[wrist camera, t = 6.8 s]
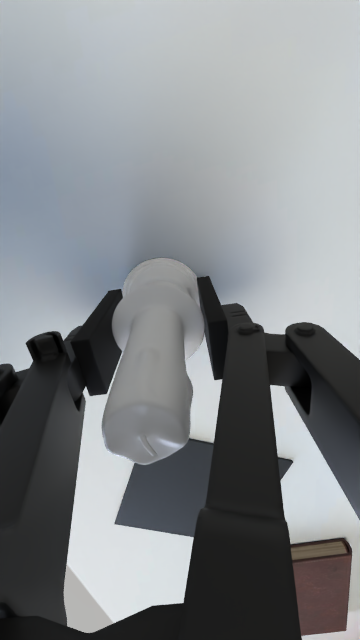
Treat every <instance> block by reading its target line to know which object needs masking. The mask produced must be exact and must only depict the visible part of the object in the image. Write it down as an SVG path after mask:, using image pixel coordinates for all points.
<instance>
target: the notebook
mask: <svg viewBox="0 0 360 640" xmlns="http://www.w3.org/2000/svg"><path fill="white" fill-rule="evenodd" d="M291 554H292V562H293V570H294V579H295V587H296V596H297V604H298V613H299V621H300V630H301V636H303V635H312V634H321V633H330V632H340V631H346V626H347V613H348V600H349V587H350V574H351V561H352V549H351V546H350V544H349V543H348V542H347V541H346V540H345V539H344V538H340V539H332V540H325V541H317V542H310V543H302V544H295V545H291Z"/></svg>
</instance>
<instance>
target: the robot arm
mask: <svg viewBox="0 0 360 640" xmlns="http://www.w3.org/2000/svg"><path fill="white" fill-rule="evenodd" d="M197 286H198V293H199V301H200V309H201V312H202V314H203V317H204V323H205V337H206V342H207V347H208V352H209V356H210V361H211V366H212V371H213V376H214V380H220V379H223V380H222V387H221V395H220V402H219V409H218V417H217V424H216V431H215V439H214V446H213V454H212V461H211V468H210V476H209V483H208V491H207V498H206V503H205V506H204V508H202V509H200V512H199V515H198V518H197V523H196V528H195V534H194V540H193V546H192V553H191V559H190V566H189V572H188V578H187V585H186V591H185V598H184V603H181V604H169V605H157V606H151V607H149V608H147V609H145V610H142V611H140V612H138V613H136V614H134V615H131V616H129V617H127V618H125V619H123V620H120V621H118V622H116V623H114V624H112V625H109V626H107V627H105V628H103V629H101V630H98V631H96V632H93V633H84V632H81V631H78V630H76V629H73V628H70V627H67V617H66V611H65V605H64V596H63V595H64V594H63V591H64V579H65V572H66V563H67V555H68V546H69V538H70V529H71V521H72V512H73V504H74V495H75V487H76V478H77V470H78V462H79V453H80V445H81V436H82V428H83V419H84V411H85V398H84V395H83V390H84V388H85V386H86V387H87V390H88V392H89V395H90V396H94V395H101V394H107V391H108V389H109V386H110V383H111V381H112V378H113V375H114V372H115V370H116V367H117V364H118V361H119V359H120V356H121V353H122V350H121V349H120V348H119V346H118V345H117V343H116V341H115V339H114V336H113V331H112V318H113V314H114V311H115V309H116V307H117V305H118V304H119V302H120V301H121V300H122V299H123V296H122V292H121V289H118V290H111V291H108V293H107V294H106V295H105V297H104V298H103V299H102V301H101V302H100V303H99V305H98V306H97V307H96V309H95V310H94V311H93V313H92V314H91V315H90V317H89V318H88V319H87V320H86V322H85V323H84V324H83V326H78V327H77V328H75V329H74V330H72V331H71V332H70V333H69V335H68V336H67V337H66V338H65V340H64V341H63V339H62V337H61V334H60V333H59V332H57V331H52V332H46V333H42V334H39V335H37V336H35V337H33V338H31V339H30V340H28V341H27V342H26V345H27V347H28V350H29V352H30V354H31V356H32V359H33V363H32V365H31V367H30V368H29V369H26V370H22V371H19V372H15V370H14V368H13V366H12V365H11V364H1V365H0V640H302V638H301V630H300V621H299V613H298V604H297V596H296V587H295V579H294V570H293V562H292V554H291V545H290V538H289V531H288V526H287V522H286V521H285V517H284V510H283V501H282V492H281V483H280V474H279V465H278V455H277V446H276V437H275V428H274V419H273V410H272V401H271V391H270V385H278V386H285V390H286V392H287V393H288V395H289V397H290V399H291V400H292V402H293V404H294V406H295V407H296V409H297V411H298V413H299V415H300V416H301V418H302V420H303V422H304V423H305V425H306V427H307V429H308V430H309V432H310V434H311V436H312V437H313V439H314V441H315V443H316V444H317V446H318V448H319V450H320V451H321V453H322V455H323V457H324V458H325V460H326V462H327V464H328V465H329V467H330V469H331V471H332V472H333V474H334V476H335V478H336V479H337V481H338V483H339V485H340V486H341V488H342V490H343V492H344V493H345V495H346V497H347V499H348V500H349V502H350V504H351V506H352V507H353V509H354V511H355V513H356V514H357V516H358V518H359V520H360V360H359V359H358V358H357V357H356V356H355V355H353V354H352V353H351V352H350V351H349V350H348V349H347V348H345V347H344V346H343V345H342V344H341V343H340V342H339V341H337V340H336V339H335V338H334V337H333V336H332V335H331V334H329V333H328V332H327V331H326V330H325V329H324V328H322V327H320V326H319V325H315V324H312V323H307V322H302V323H296V324H291V325H290V326H288V327H287V328H286V331H285V335H280V334H268V333H264V329H263V327H262V326H261V325H259V324H256V323H253V322H252V320H251V318H250V317H249V315H248V314H247V312H246V310H245V309H244V307H243V306H241V305H239V304H237V303H234V304H227V305H221V304H220V302H219V299H218V297H217V294H216V292H215V290H214V287H213V285H212V282H211V280H210V278H209V276H206V277H199V278H197Z"/></svg>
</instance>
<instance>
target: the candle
mask: <svg viewBox="0 0 360 640" xmlns="http://www.w3.org/2000/svg"><path fill="white" fill-rule="evenodd" d="M122 296H123V299H122V300H121V301H120V302H119V304H118V305H117V307H116V309H115V311H114V314H113V318H112V331H113V336H114V339H115V341H116V343H117V345H118V346H119V348H120V349H121V350H122V352H123V355H122V358H121V361H120V364H119V367H118V370H117V372H116V375H115V378H114V381H113V384H112V387H111V390H110V393H109V397H108V400H107V403H106V407H105V410H104V414H103V419H102V434H103V437H104V443H105V446H106V448H107V450H108V451H109V452H110V453H112V454H114V455H117V456H120V457H124V458H127V459H129V460H131V461H133V462H135V463H138V464H141V465H147V464H151V463H153V462H155V461H158V460H160V459H163V458H166V457H168V456H170V455H171V454H173V453H174V452H176V451H178V450H179V449H181V448H182V447H184V446H185V445H186V443H187V441H188V439H189V434H190V407H191V402H192V396H193V387H192V384H191V381H190V379H189V377H188V375H187V372H186V365H185V361H186V360H187V359H189V358H190V357H191V356H192V355H193V354H194V353H195V352H196V351H197V350H198V348H199V346H200V345H201V343H202V340H203V337H204V332H205V323H204V317H203V314H202V312H201V309H200V301H199V293H198V286H197V276H196V275H195V273H194V272H193V271H192V270H191V269H190V268H189V267H187V266H186V265H185V264H183V263H181V262H179V261H176V260H173V259H169V258H154V259H150V260H147V261H145V262H143V263H141V264H139V265H138V266H136V267H135V268H134V269H133V270H132V271H131V272H130V274H129V275H128V276H127V278H126V280H125V283H124V286H123V291H122Z"/></svg>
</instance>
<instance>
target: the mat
mask: <svg viewBox="0 0 360 640" xmlns="http://www.w3.org/2000/svg"><path fill="white" fill-rule="evenodd" d="M213 446H214V444H213V443H208V442H203V441H199V440H194V439H188V441H187V443H186V445H185V446H184V447H182V448H181V449H179V450H178V451H176V452H174V453H173V454H171V455H170V456H168V457H166V458H163V459H160V460H158V461H155V462H153V463H151V464H147V465H141V464H138V463H135V464H134V467H133V470H132V473H131V476H130V479H129V482H128V485H127V488H126V491H125V494H124V497H123V500H122V503H121V506H120V509H119V512H118V515H117V518H116V521H115V524H117V525H123V526H129V527H136V528H142V529H148V530H154V531H160V532H166V533H172V534H178V535H184V536H190V537H194V534H195V528H196V523H197V518H198V515H199V512H200V509H202V508H204V506H205V503H206V498H207V491H208V483H209V476H210V468H211V461H212V454H213ZM292 463H293V461H292V460H288V459H283V458H278V465H279V474H280V480H281V479H282V478H283V476H284V475H285V473H286V472H287V470H288V469H289V467H290V466H291V464H292Z"/></svg>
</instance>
